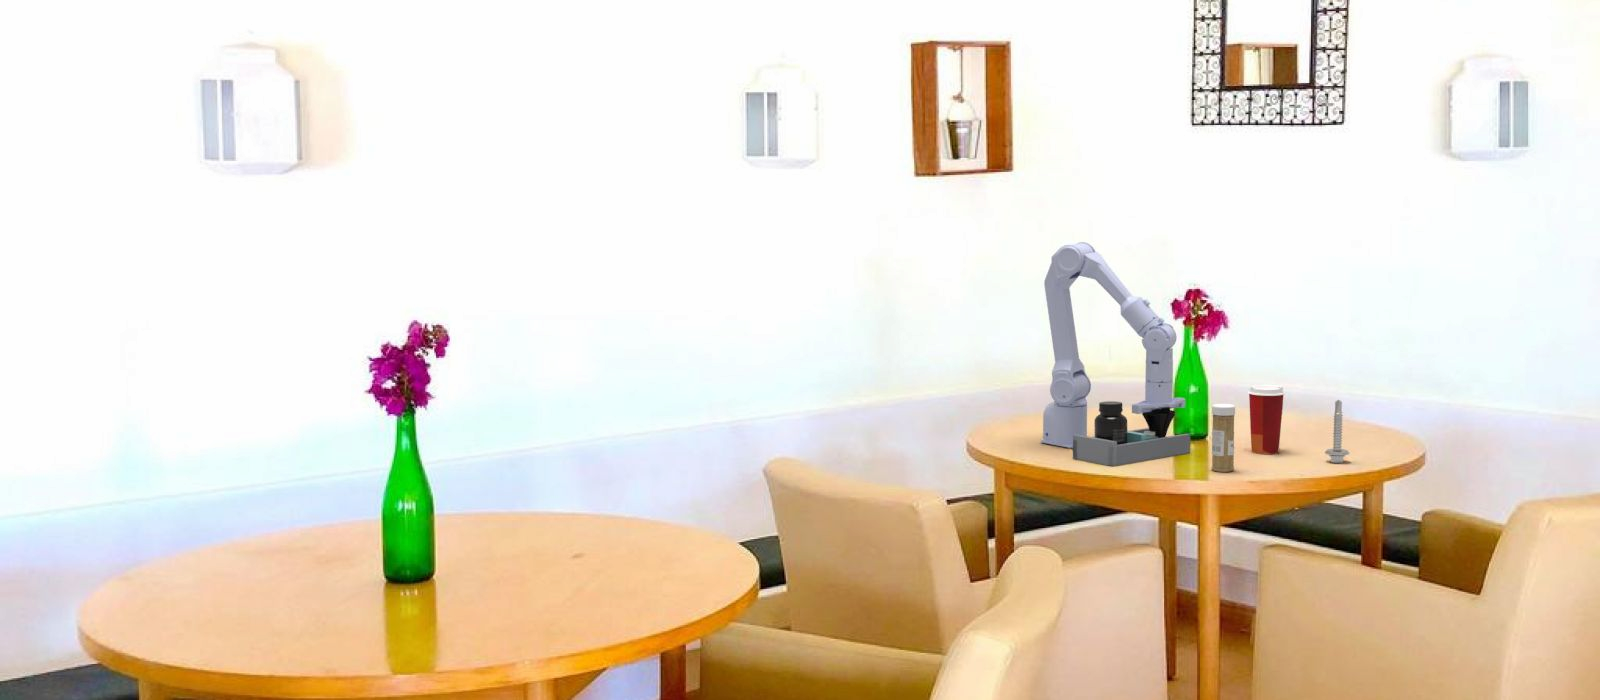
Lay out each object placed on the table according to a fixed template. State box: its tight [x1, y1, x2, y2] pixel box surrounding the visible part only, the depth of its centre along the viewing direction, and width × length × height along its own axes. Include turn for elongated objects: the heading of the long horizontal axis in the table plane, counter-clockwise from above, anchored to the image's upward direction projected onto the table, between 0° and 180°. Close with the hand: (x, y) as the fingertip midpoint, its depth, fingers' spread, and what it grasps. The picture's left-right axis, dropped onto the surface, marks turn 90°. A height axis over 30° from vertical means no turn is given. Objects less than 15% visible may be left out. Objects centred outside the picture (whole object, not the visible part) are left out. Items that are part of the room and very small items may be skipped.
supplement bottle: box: [1093, 400, 1128, 445], centre depth 387 cm, size 7×7×12 cm
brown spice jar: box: [1211, 403, 1236, 473], centre depth 373 cm, size 5×5×13 cm
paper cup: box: [1246, 384, 1286, 455], centre depth 393 cm, size 8×8×14 cm
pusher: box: [1127, 430, 1158, 443], centre depth 392 cm, size 8×8×5 cm
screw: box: [1324, 399, 1350, 464], centre depth 381 cm, size 13×5×5 cm
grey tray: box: [1072, 427, 1191, 467], centre depth 391 cm, size 11×24×5 cm, turn 127°
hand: (1158, 443), depth 396 cm, fingers closed
